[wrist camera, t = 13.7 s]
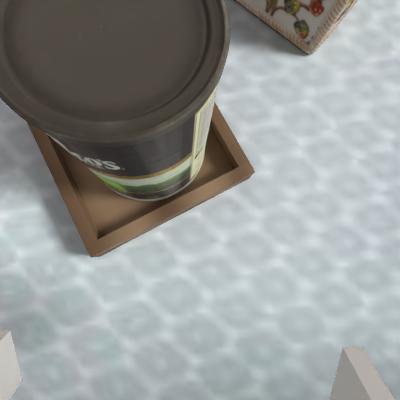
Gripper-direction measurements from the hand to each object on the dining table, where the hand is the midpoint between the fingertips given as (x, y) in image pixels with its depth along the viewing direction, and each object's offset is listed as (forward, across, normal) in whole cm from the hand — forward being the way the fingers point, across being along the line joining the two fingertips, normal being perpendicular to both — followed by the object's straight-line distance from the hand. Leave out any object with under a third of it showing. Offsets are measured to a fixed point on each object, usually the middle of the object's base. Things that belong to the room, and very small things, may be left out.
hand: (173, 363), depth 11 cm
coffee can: (+17, +4, -6) cm, 19 cm away
